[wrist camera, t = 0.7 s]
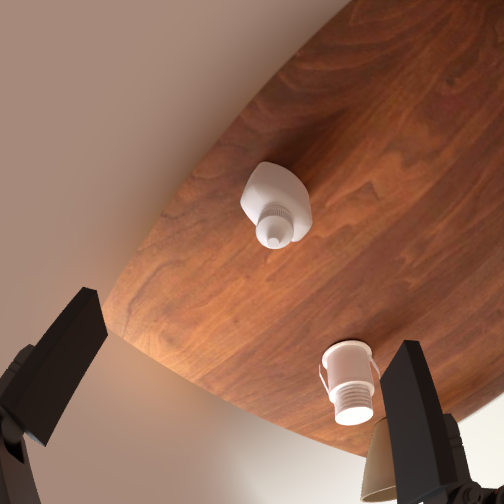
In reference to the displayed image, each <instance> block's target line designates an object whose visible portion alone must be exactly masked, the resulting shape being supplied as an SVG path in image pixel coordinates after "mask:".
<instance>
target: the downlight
mask: <svg viewBox="0 0 504 504" xmlns="http://www.w3.org/2000/svg"><path fill="white" fill-rule="evenodd" d="M369 361H371V362H372V364H373V365H374V367H375V369H376V370H377V372H378V374H379V380H380V371H379V368H378V366H377V365H376V363H375V362H374V360H373V359H372V351H371V348H370V347H369V346H368V345H367V344H366V343H364V342H361V341H355V340H350V341H343V342H340V343H337V344H335V345H333V346H331V347H330V348H329V349H328V350H327V351H326V352H325V353H324V355H323V358H322V362H323V365H324V367H325V368H326V369H327V371H328V387H329V390H328V388H327V386H326V384H325V382H324V380H323V378H322V376H321V373H320V364H319V373H320V377H321V379H322V381H323V384H324V386H325V388H326V390H327V392H328V394H329V399H330V401H331V402H333V403H334V404H335V420H336V422H337V423H339V424H342V425H356V424H360V423H363V422H365V421H367V420H369V419H370V418H371V417H372V416H373V407H372V401H371V396H372V395H373V393H374V390H375V389H374V384H373V378H372V373H371V368H370V363H369Z"/></svg>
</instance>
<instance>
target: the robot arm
mask: <svg viewBox="0 0 504 504" xmlns="http://www.w3.org/2000/svg"><path fill="white" fill-rule="evenodd" d="M107 336H108V333H107V330H106V326H105V322H104V318H103V315H102V311H101V307H100V303H99V298H98V294H97V291H96V290H93V289H89V288H85V287H82V289H81V290H80V291H79V292H78V293H77V294H76V296H75V297H74V298H73V299H72V300H71V301H70V303H69V304H68V305H67V306H66V308H65V309H64V310H63V311H62V313H61V314H60V315H59V316H58V317H57V319H56V320H55V321H54V323H53V324H52V325H51V326H50V327H49V329H48V330H47V331H46V333H45V334H44V335H43V337H42V338H41V339H40V340H39V342H38V343H37V345H36V346H33V345H31V344H29V345H27V346H26V347H25V348H23V349H22V350H20V352H19V353H18V354H17V356H16V357H15V358H14V361H13V362H11V364H10V365H9V367H8V369H6V371H5V372H4V374H3V375H2V376H1V378H0V504H41V502H40V499H39V496H38V492H37V489H36V486H35V482H34V479H33V475H32V471H31V467H30V463H29V458H28V454H27V449H26V445H25V440H24V438H23V434H24V432H25V433H26V434H27V435H28V436H29V437H30V438H31V439H33V440H34V441H36V442H38V443H39V444H41V445H43V446H45V447H46V445H47V443H48V441H49V439H50V437H51V435H52V433H53V431H54V429H55V427H56V425H57V423H58V421H59V419H60V417H61V415H62V413H63V412H64V410H65V408H66V406H67V404H68V403H69V401H70V399H71V397H72V395H73V393H74V391H75V390H76V388H77V386H78V385H79V383H80V381H81V379H82V377H83V376H84V374H85V372H86V371H87V369H88V367H89V366H90V364H91V362H92V361H93V359H94V357H95V356H96V354H97V352H98V350H99V349H100V347H101V346H102V344H103V342H104V341H105V339H106V338H107ZM380 384H381V389H382V394H383V400H384V405H385V411H386V417H387V423H388V429H389V436H390V442H391V449H392V457H393V465H394V474H395V483H396V494H397V504H419V503H421V502H423V504H504V485H503V486H501V487H499V488H498V489H491V488H490V489H489V488H481V486H480V485H479V484H478V483H477V482H474V481H472V479H471V477H470V473H469V468H468V464H467V459H466V455H465V451H464V447H463V446H462V444H463V443H462V439H461V437H460V431H459V428H458V424H457V422H456V421H455V419H454V418H453V416H452V415H451V413H450V414H443V413H442V409H441V406H440V402H439V399H438V396H437V393H436V389H435V386H434V383H433V380H432V377H431V374H430V371H429V368H428V365H427V362H426V359H425V357H424V354H423V351H422V348H421V346H420V343H419V341H412V340H404V341H403V343H402V345H401V346H400V348H399V350H398V351H397V353H396V355H395V356H394V358H393V360H392V361H391V363H390V364H389V366H388V368H387V369H386V371H385V372H384V374H383V375H382V377H381V378H380Z"/></svg>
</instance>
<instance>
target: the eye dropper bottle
mask: <svg viewBox="0 0 504 504" xmlns="http://www.w3.org/2000/svg"><path fill="white" fill-rule="evenodd" d="M240 202H241V206H242V208H243V210H244V211H245V213H246V214H247V216H248V217H249V218H250V220H251V221H252V222H253V223H254V224H255V225H256V235H257V238H258V240H259V241H260V243H261V244H263V245H264V246H266V247H268V248H271V249H279V248H283V247H285V246H286V245H288V244H289V243H290V241H299V240H300V239H302V238H303V237H304V236H305V234H306V233H307V232H308V231H309V229H310V228H311V226H312V223H313V222H312V213H311V207H310V201H309V195H308V191H307V189H306V188H305V186H304V185H303V183H302V182H301V181H300V180H299V179H298V178H297V177H296V176H295V175H294V174H293V173H292V172H290V171H289V170H287V169H286V168H284V167H282V166H279V165H277V164H274V163H270V162H261V163H260V164H259V165H258V166H257V167H256V169H255V170H254V171H253V173H252V174H251V176H250V178H249V181H248V183H247V185H246V187H245V189H244V192H243V194H242V197H241V201H240Z"/></svg>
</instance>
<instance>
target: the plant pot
mask: <svg viewBox="0 0 504 504" xmlns="http://www.w3.org/2000/svg"><path fill="white" fill-rule="evenodd" d="M395 499H397V494H396V483H395V474H394V465H393V457H392V449H391V442H390V436H389V429H388V423H387V418H385V419H383V420H381V421H380V422H378V423H377V424H376V425H375V428H374V431H373V435H372V438H371V442H370V446H369V450H368V455H367V459H366V464H365V470H364V476H363V483H362V492H361V499H360V500H361V501H362V502H367V503H374V502H384V501H390V500H395Z"/></svg>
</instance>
